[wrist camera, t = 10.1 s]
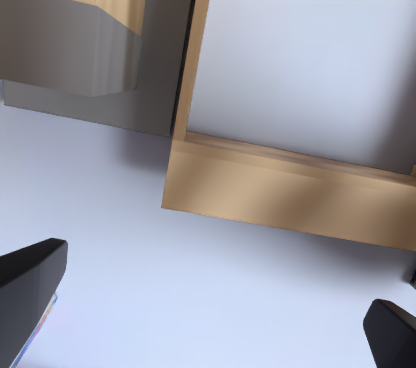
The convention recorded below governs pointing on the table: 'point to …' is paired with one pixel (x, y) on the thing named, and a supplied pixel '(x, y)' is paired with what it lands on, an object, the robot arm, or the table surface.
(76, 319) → the table surface
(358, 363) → the table surface
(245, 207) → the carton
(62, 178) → the table surface
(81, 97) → the mat
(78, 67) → the box
